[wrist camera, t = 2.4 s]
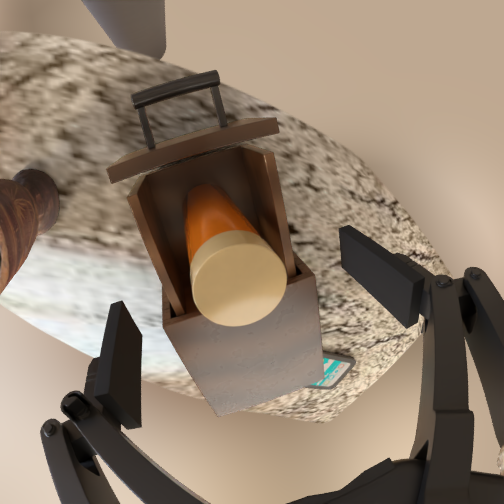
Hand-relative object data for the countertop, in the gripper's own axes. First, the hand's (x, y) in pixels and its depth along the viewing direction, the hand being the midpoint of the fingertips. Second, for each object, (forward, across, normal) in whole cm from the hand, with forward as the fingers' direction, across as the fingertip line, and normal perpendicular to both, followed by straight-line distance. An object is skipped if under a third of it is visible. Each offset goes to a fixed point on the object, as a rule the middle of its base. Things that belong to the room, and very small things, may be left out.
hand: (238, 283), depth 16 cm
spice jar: (+14, 0, 0) cm, 14 cm away
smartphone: (+16, +10, -33) cm, 38 cm away
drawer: (+15, 0, +3) cm, 16 cm away
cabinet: (+16, 0, -13) cm, 21 cm away
